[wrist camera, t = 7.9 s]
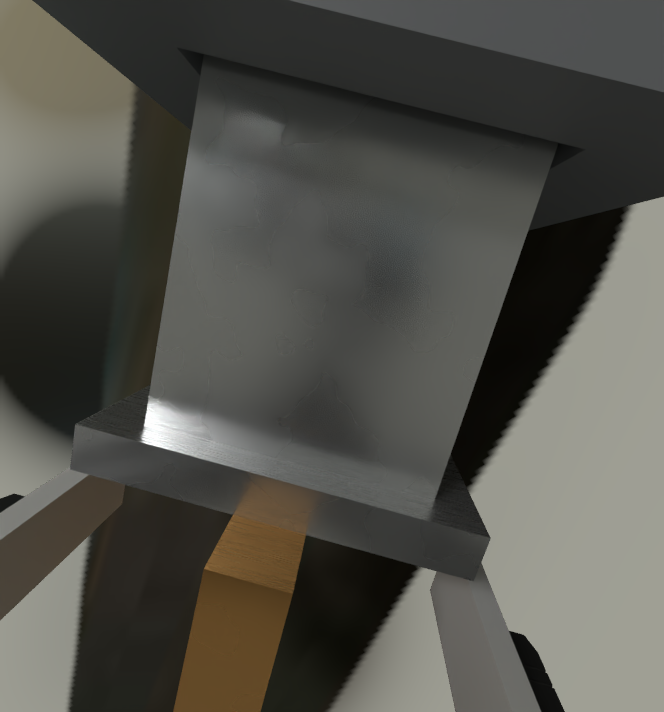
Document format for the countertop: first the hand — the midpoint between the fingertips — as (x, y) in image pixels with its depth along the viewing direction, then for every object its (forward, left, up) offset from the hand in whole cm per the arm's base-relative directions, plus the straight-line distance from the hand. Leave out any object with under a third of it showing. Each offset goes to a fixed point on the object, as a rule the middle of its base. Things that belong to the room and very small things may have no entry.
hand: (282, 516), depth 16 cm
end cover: (-5, -5, -3) cm, 7 cm away
